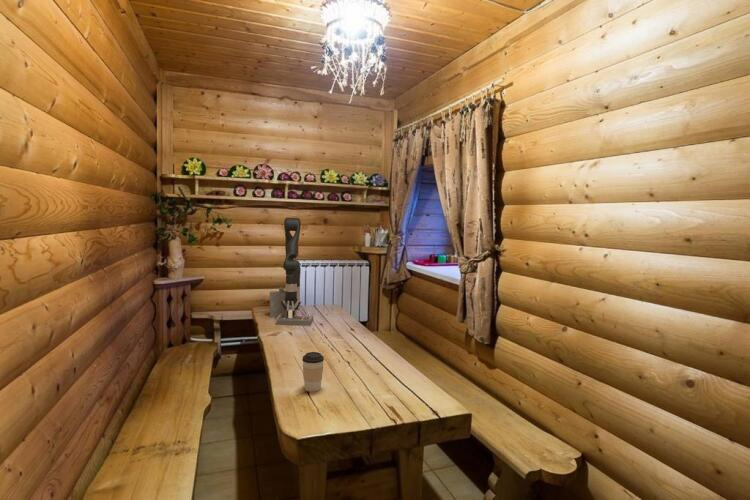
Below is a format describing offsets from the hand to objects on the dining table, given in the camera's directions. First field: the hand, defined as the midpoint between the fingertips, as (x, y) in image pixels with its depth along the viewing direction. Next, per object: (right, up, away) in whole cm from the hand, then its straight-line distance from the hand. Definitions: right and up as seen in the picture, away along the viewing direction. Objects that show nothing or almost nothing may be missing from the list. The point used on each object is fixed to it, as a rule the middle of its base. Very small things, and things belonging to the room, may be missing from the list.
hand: (290, 315), depth 274 cm
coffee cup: (+29, -15, -99) cm, 105 cm away
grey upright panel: (-10, -3, +16) cm, 19 cm away
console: (+3, -5, 0) cm, 5 cm away
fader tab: (0, -1, 0) cm, 1 cm away
